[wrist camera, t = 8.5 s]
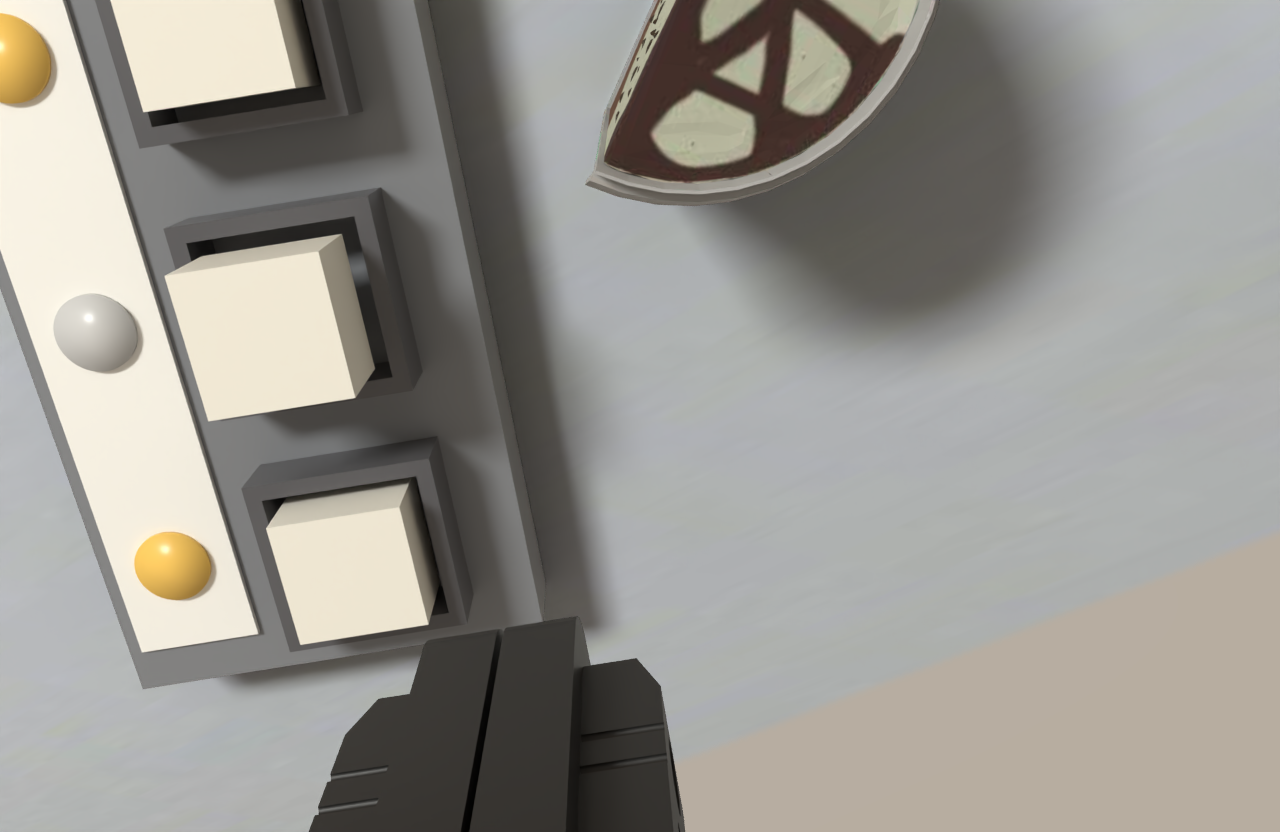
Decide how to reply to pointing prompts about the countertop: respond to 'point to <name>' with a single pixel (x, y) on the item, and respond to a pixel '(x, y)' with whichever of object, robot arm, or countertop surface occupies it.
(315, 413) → the button board
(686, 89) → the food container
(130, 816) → the countertop surface
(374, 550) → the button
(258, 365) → the button middle
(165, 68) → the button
